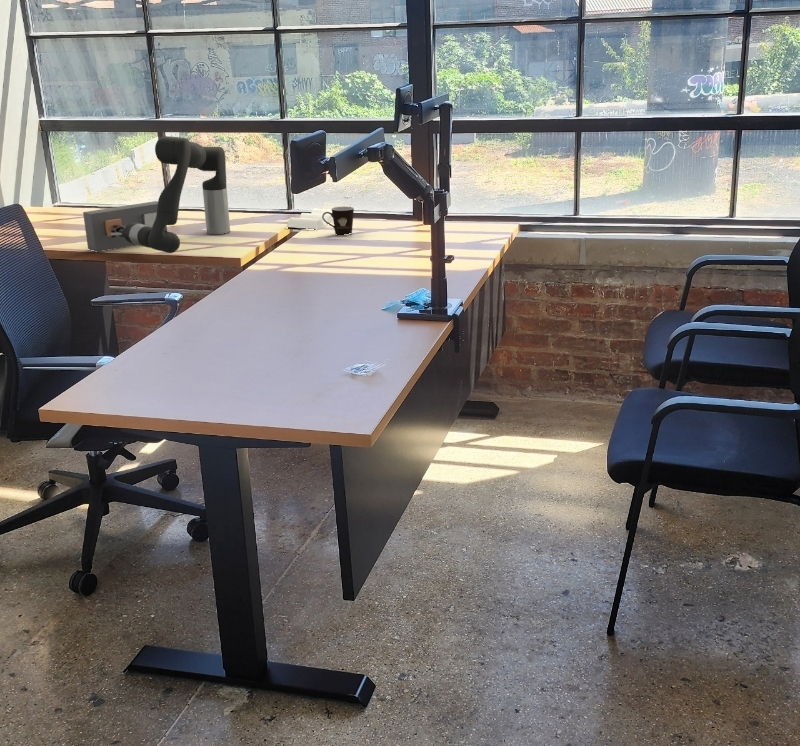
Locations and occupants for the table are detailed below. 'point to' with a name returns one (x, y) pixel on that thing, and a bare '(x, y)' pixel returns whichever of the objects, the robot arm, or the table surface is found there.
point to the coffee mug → (341, 219)
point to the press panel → (127, 214)
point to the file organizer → (314, 218)
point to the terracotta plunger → (111, 225)
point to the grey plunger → (149, 218)
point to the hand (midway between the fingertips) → (115, 228)
